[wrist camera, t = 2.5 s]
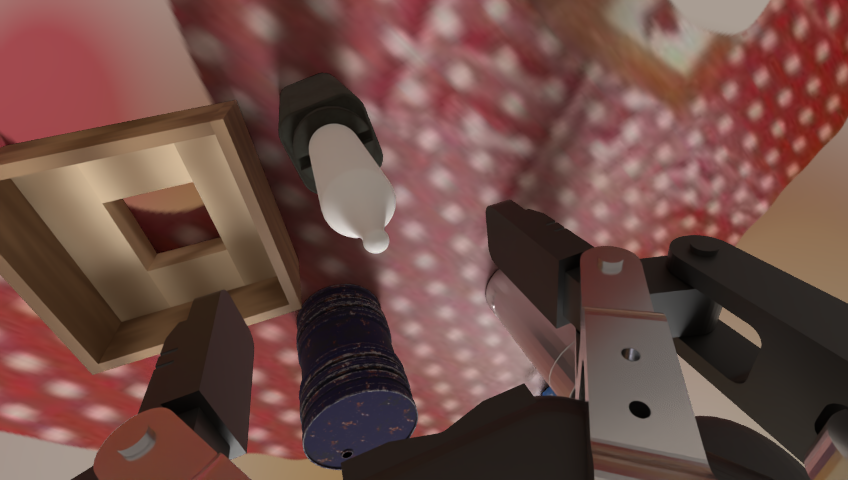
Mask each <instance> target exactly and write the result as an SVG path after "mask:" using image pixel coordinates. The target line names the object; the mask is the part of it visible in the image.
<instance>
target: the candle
mask: <svg viewBox="0 0 848 480" xmlns="http://www.w3.org/2000/svg"><path fill="white" fill-rule="evenodd" d="M278 131H279V138H280V140H281V142H282V144H283V146H284V148H285V150H286V152H287V153H288V155H289V157H290V159H291V161H292V163H293V165H294V166H295V168H296V170H297V172H298V174H299V176H300V177H301V179H302V181H303V183H304V184H305V186H306V187H307V188H308V189H309V190H310V191H312V192H314V193H316V194H318V197H319V201H320V206H321V211H322V213H323V216H324V219H325V220H326V222H327V223H328V224H329V226H330V227H331V228H332V229H334V230H335V231H336V232H338V233H339V234H342V235H344V236H346V237H352V238H361V239H362V240H363V245H364V247H365V249H366V250H367V251H368V252H370V253H374V254H377V253H381V252H383V251H384V250H385V249H386V248H387V247H388V244H389V236H388V234H387V233H386V232H385V231H384V228H385V226H386V225H387V224H388V223H389V221H390V220H391V218H392V216H393V214H394V210H395V205H396V197H395V193H394V189H393V187H392V185H391V183H390V182H389V180H388V179H387V177H386V176H385V174H384V173H383V172H382V170H381V169H380V167H381V165H382V161H383V154H382V150H381V147H380V145H379V142H378V140H377V137H376V135H375V132H374V129H373V127H372V124H371V122H370V119H369V117H368V114H367V111H366V109H365V107H364V105H363V103H362V102H361V101H360V99H359V98H358V97H356V96H355V95H354V94H353V93H352V92H351V91H350V90H348V89H347V88H346V87H345V86H344V85H343V84H341V83H340V82H339V81H338V80H337V79H336V78H335V77H333V76H332V75H330V74H328V73H319V74H317V75H314V76H312V77H309V78H306V79H304V80H301V81H299V82H296V83H294V84H291V85H289V86H287V87H285V88H284V89H283V90H282V92H281V94H280V106H279V129H278Z"/></svg>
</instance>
